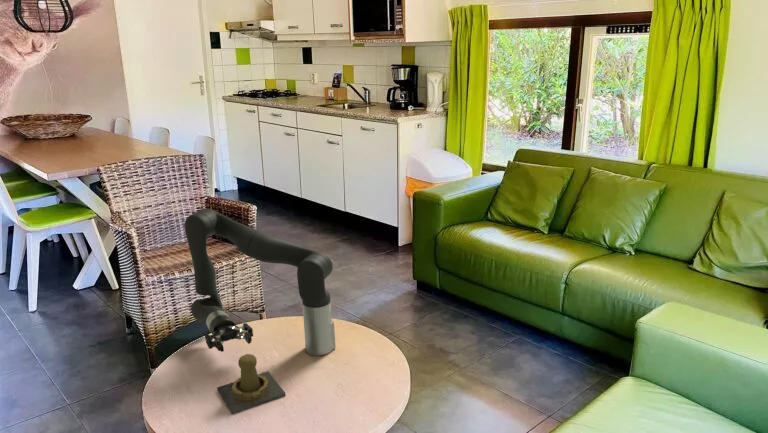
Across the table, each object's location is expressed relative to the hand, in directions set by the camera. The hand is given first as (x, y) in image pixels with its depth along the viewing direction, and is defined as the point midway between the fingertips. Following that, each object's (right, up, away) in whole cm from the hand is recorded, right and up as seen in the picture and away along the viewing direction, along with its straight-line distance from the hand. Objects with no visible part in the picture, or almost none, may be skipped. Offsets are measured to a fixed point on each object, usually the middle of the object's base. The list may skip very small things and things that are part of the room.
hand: (236, 344), depth 178 cm
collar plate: (+6, -13, -7) cm, 16 cm away
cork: (+6, -12, -7) cm, 15 cm away
